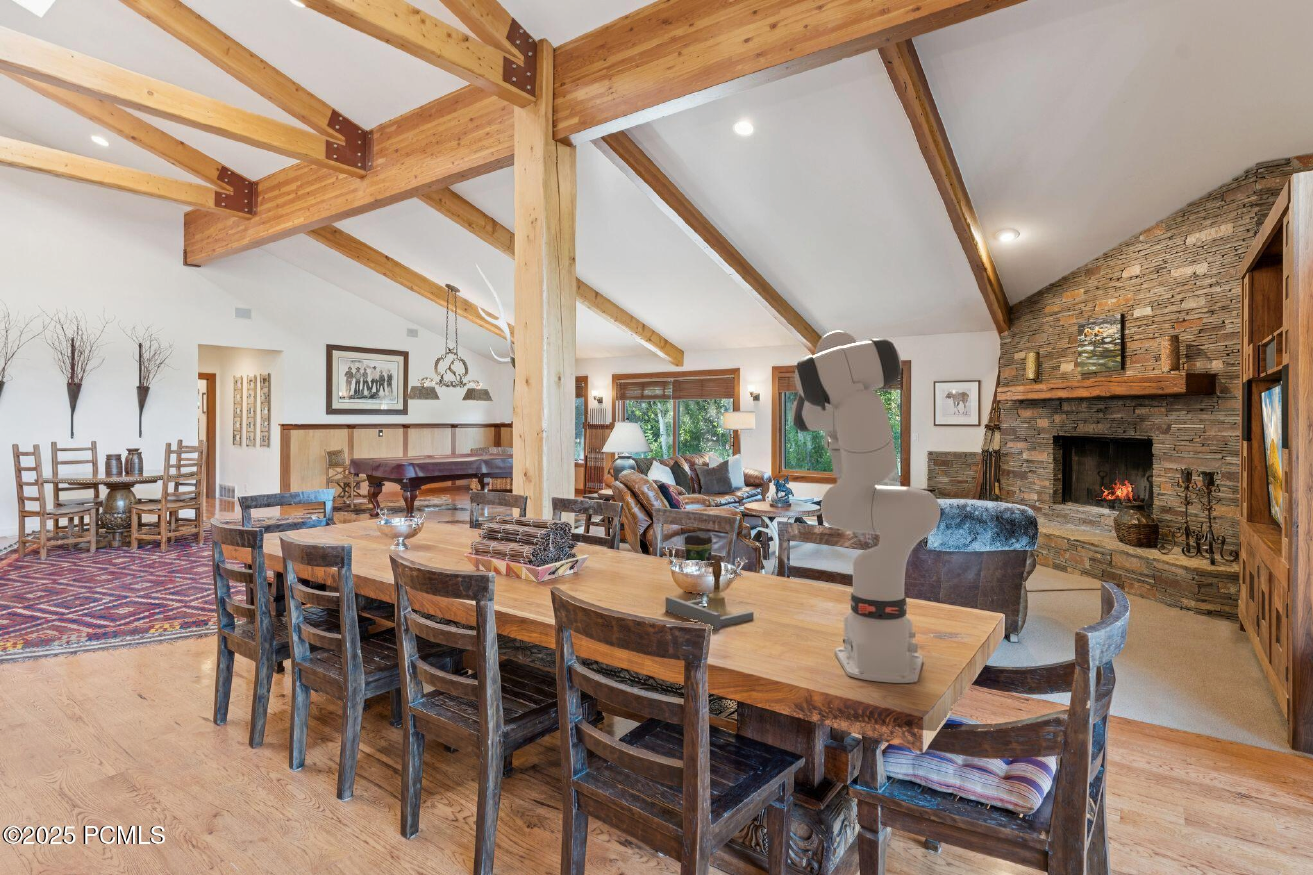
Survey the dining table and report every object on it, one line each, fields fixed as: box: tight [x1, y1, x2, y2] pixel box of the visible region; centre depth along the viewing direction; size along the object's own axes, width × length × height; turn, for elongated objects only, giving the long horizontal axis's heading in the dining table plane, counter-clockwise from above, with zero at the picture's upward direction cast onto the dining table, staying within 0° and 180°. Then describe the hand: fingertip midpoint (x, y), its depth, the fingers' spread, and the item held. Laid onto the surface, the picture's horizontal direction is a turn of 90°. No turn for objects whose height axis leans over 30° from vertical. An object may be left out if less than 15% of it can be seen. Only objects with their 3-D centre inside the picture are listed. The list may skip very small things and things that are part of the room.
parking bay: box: [665, 595, 755, 631], centre depth 184 cm, size 15×22×4 cm, turn 35°
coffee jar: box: [684, 530, 713, 563], centre depth 214 cm, size 10×8×19 cm
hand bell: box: [704, 556, 732, 617], centre depth 185 cm, size 8×8×16 cm
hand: (840, 490), depth 188 cm, fingers closed
